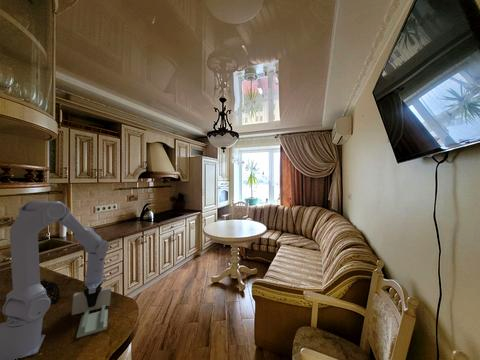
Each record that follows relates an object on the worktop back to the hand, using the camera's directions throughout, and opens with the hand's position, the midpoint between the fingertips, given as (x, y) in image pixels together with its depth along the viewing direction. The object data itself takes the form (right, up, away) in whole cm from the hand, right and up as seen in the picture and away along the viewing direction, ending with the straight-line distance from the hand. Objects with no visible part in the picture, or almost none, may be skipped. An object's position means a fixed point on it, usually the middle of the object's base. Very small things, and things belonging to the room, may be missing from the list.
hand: (92, 303), depth 76 cm
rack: (+7, -2, -8) cm, 11 cm away
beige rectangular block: (0, -2, 0) cm, 2 cm away
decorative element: (-27, -2, +8) cm, 28 cm away
